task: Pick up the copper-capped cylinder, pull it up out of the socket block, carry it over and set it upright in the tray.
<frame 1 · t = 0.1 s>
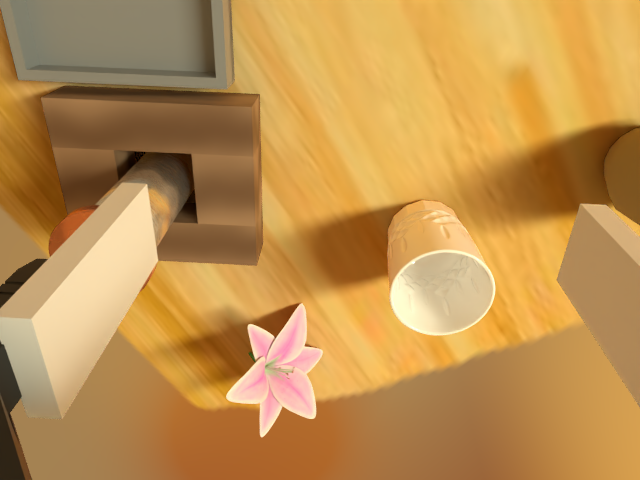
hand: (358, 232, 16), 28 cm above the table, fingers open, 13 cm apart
copper-capped cylinder: (142, 207, 39), in the socket block
lily: (284, 339, 55), on the table
white cup: (423, 231, 48), on the table
socket block: (171, 170, 45), on the table
squeeze bottle: (637, 158, 43), on the table
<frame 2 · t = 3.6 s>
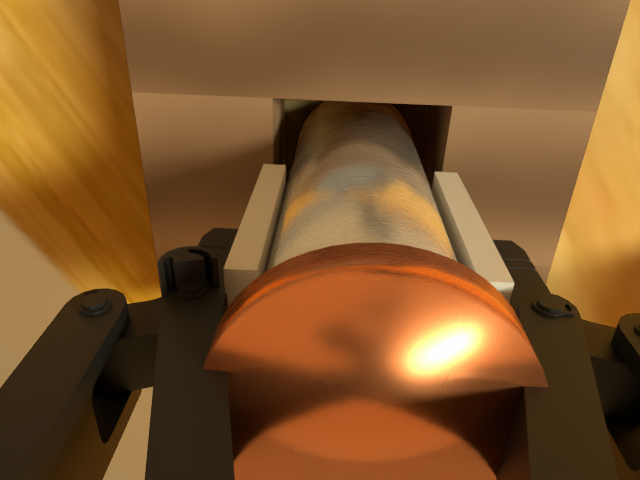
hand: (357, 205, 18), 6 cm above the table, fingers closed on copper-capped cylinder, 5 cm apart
copper-capped cylinder: (358, 230, 16), in the socket block, touching gripper
socket block: (354, 149, 23), on the table
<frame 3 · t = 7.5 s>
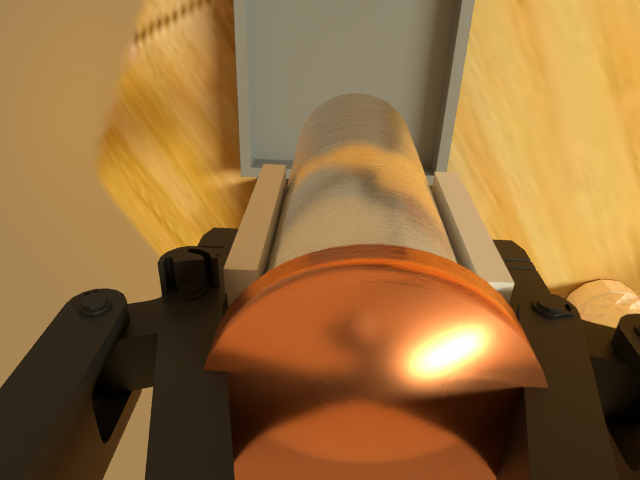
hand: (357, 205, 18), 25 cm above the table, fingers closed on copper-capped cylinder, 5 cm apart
copper-capped cylinder: (358, 231, 16), point 26 cm above the table, touching gripper
tray: (348, 68, 39), on the table
white cup: (595, 306, 49), on the table
when the fingers open (8 cm above the table, at t = 11.4 s): copper-capped cylinder stays where it is, resting on tray.
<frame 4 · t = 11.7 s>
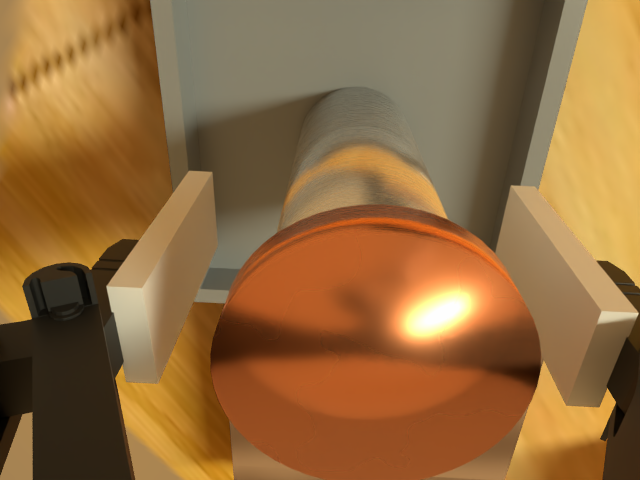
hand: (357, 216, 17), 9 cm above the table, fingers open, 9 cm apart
copper-capped cylinder: (360, 213, 17), in the tray, point 9 cm above the table
tray: (353, 135, 24), on the table
socket block: (369, 384, 32), on the table
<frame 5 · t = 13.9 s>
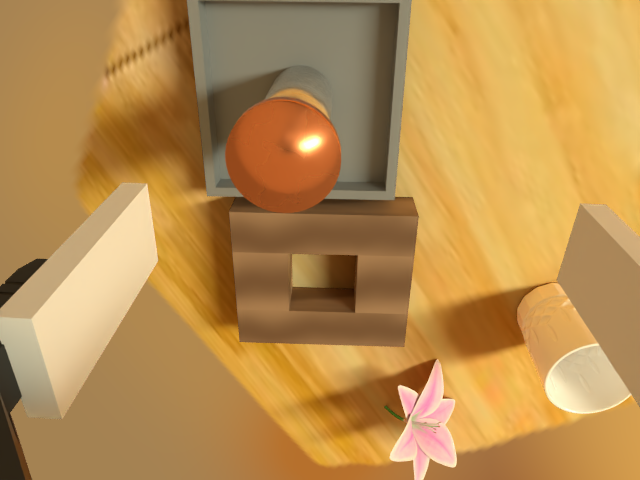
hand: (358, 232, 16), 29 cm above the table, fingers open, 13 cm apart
copper-capped cylinder: (294, 122, 35), in the tray, point 9 cm above the table
tray: (301, 95, 42), on the table
lily: (418, 392, 58), on the table
white cup: (549, 308, 52), on the table
socket block: (323, 261, 50), on the table
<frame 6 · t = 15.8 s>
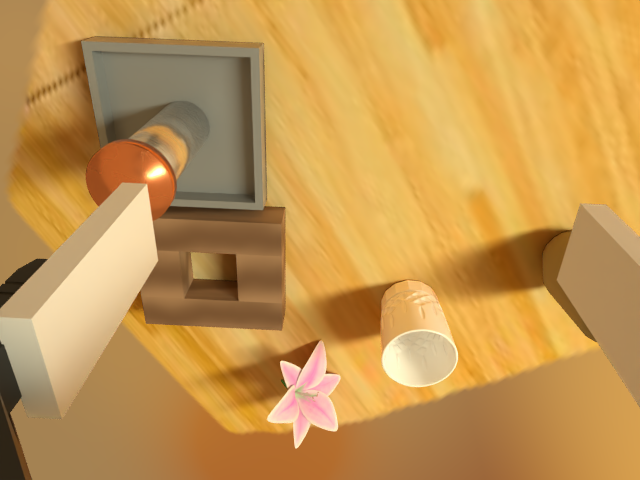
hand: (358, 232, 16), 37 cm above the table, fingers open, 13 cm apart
copper-capped cylinder: (161, 151, 45), in the tray, point 9 cm above the table
tray: (187, 123, 52), on the table
lily: (309, 368, 68), on the table
white cup: (408, 301, 62), on the table
socket block: (217, 258, 60), on the table
squeeze bottle: (567, 251, 58), on the table
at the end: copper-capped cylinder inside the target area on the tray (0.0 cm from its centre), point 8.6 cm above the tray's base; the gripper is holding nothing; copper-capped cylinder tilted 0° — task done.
